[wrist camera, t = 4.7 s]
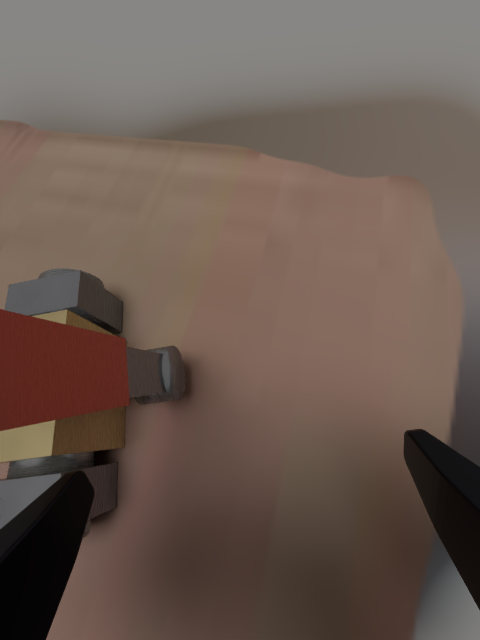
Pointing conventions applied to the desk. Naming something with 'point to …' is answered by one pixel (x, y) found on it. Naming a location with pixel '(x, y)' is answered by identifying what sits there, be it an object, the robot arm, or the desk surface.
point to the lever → (76, 371)
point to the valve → (73, 432)
